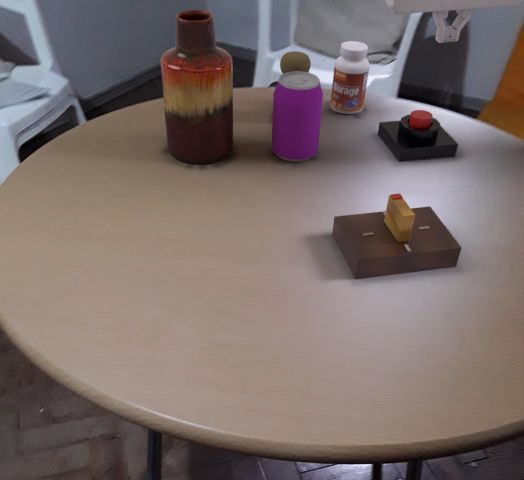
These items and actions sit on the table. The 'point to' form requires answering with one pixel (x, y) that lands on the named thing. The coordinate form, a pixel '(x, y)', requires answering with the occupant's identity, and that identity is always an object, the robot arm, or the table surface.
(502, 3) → the robot arm
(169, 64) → the vase
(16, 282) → the table surface
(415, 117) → the bell button
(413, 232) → the plate
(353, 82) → the pill bottle
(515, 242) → the table surface
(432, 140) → the box
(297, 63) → the cork
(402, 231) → the thumb turn
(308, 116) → the beverage can
